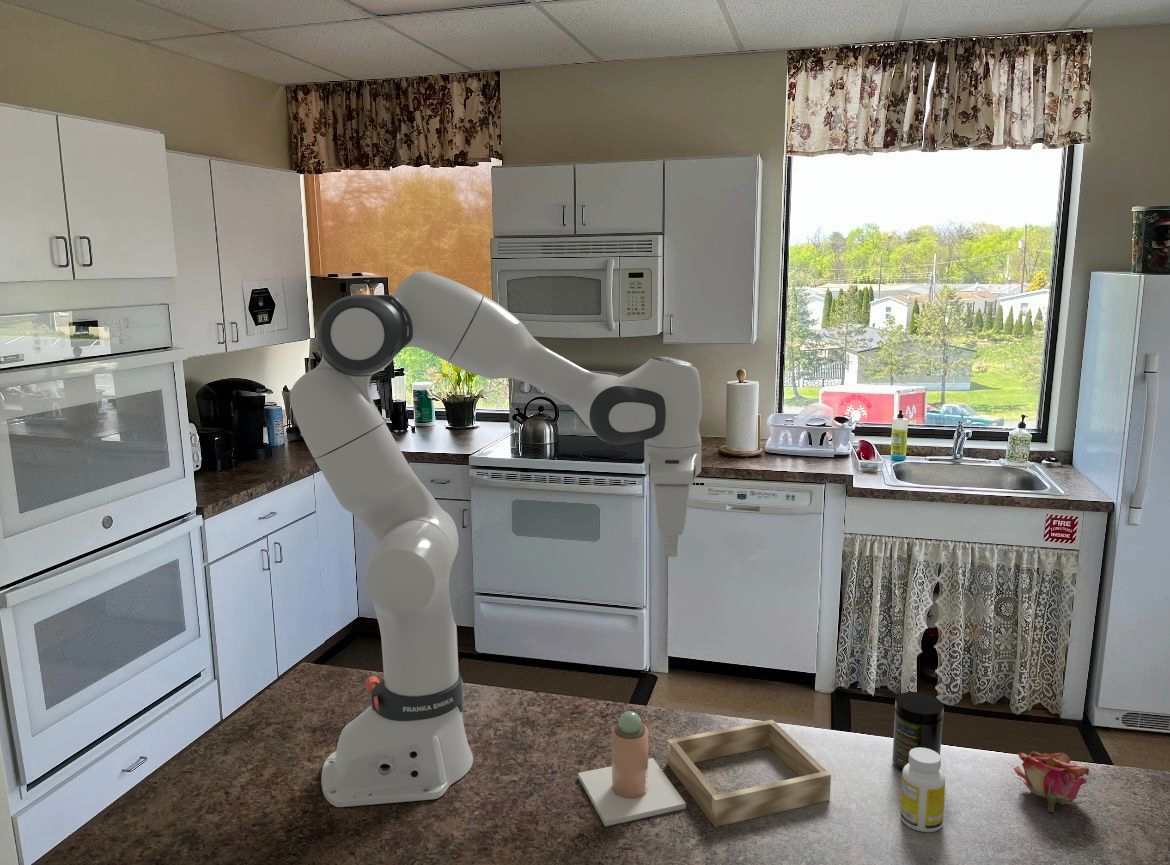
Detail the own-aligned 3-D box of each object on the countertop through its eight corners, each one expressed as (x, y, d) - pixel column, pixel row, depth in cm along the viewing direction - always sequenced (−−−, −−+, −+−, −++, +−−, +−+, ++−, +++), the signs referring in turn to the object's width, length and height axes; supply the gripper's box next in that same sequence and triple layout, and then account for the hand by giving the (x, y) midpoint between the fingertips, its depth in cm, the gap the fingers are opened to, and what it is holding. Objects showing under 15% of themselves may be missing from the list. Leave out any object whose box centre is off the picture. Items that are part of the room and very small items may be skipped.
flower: (1100, 822, 112) (1103, 760, 115) (1027, 802, 114) (1032, 741, 117) (1066, 821, 121) (1069, 763, 124) (999, 802, 123) (1004, 745, 126)
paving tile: (605, 826, 116) (605, 821, 115) (578, 777, 127) (578, 772, 127) (685, 808, 119) (685, 803, 119) (652, 762, 130) (652, 757, 130)
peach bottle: (619, 801, 120) (619, 725, 117) (606, 781, 124) (606, 707, 122) (653, 794, 121) (654, 718, 119) (639, 773, 126) (639, 700, 124)
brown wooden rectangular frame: (715, 827, 115) (715, 800, 114) (667, 763, 130) (667, 739, 129) (829, 800, 121) (830, 774, 120) (771, 742, 136) (772, 719, 135)
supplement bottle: (943, 814, 117) (947, 749, 115) (941, 838, 112) (946, 770, 111) (901, 804, 119) (905, 740, 118) (898, 827, 115) (902, 761, 113)
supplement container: (936, 784, 124) (940, 718, 122) (887, 771, 127) (891, 707, 125) (942, 761, 130) (946, 698, 128) (896, 750, 133) (899, 688, 131)
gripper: (654, 447, 143) (654, 526, 146) (649, 475, 123) (649, 566, 126) (692, 447, 143) (691, 527, 145) (693, 476, 123) (692, 567, 125)
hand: (672, 545), depth 135 cm, fingers open, 8 cm apart
